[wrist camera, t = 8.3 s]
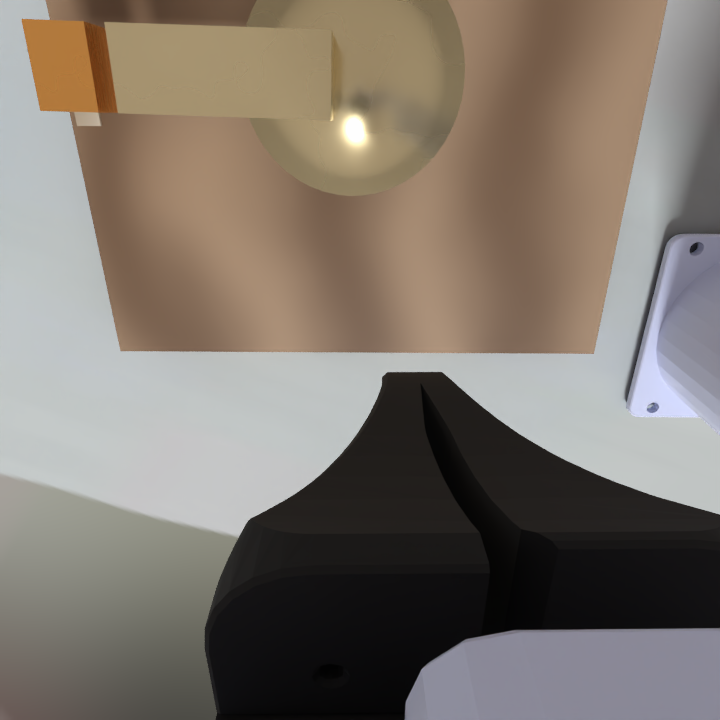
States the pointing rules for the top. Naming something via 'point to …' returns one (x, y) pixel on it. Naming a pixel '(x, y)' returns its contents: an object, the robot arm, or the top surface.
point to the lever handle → (279, 81)
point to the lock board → (383, 201)
